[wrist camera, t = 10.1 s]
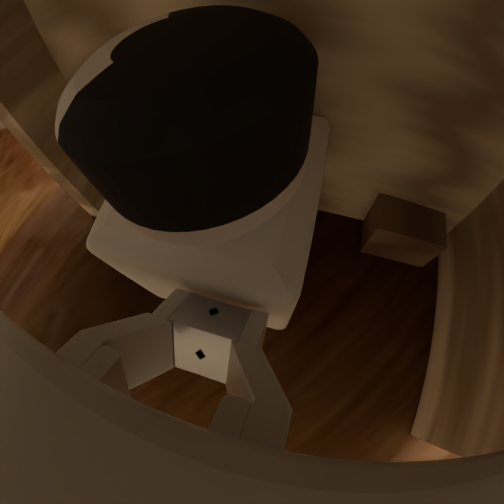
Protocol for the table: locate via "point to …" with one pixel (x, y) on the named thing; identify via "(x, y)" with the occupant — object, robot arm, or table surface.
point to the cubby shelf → (350, 155)
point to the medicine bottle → (202, 154)
